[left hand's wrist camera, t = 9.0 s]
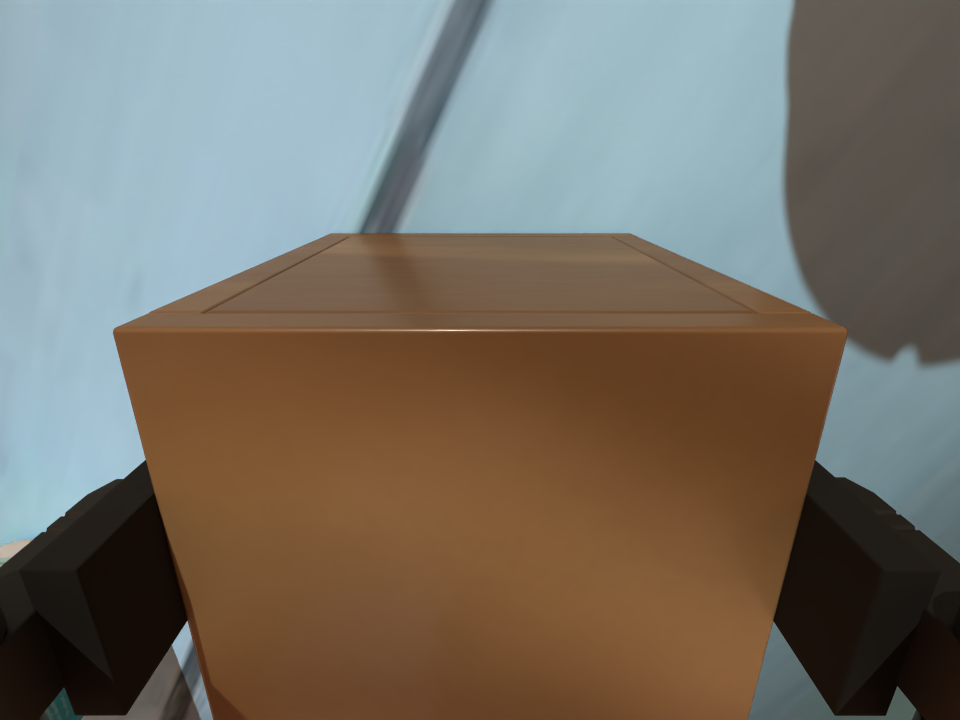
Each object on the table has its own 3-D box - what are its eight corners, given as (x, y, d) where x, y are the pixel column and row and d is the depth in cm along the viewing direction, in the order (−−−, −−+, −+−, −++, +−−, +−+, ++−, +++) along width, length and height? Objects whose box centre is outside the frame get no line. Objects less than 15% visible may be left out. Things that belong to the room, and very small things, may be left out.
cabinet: (593, 613, 24) (684, 971, 13) (367, 613, 24) (276, 970, 13) (631, 233, 18) (852, 328, 7) (329, 233, 18) (108, 328, 7)
